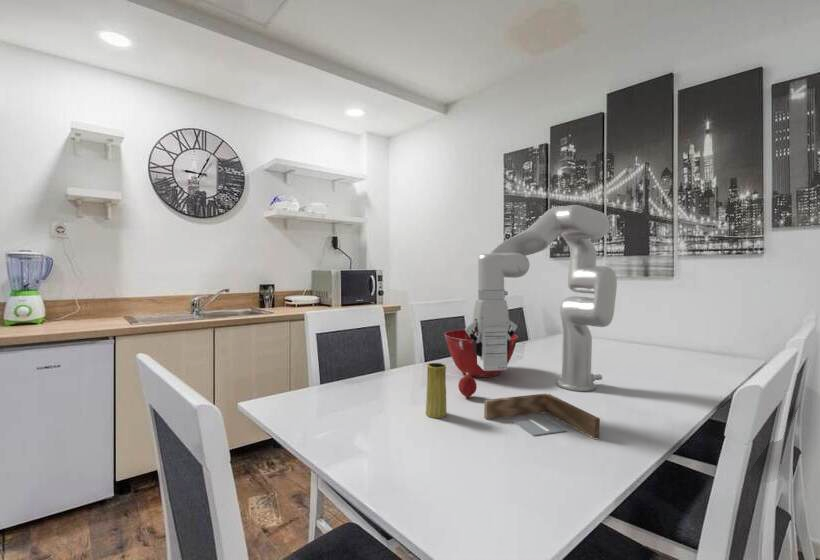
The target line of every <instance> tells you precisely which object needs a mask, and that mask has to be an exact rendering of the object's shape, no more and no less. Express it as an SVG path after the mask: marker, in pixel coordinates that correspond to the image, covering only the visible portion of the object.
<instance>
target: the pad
mask: <svg viewBox="0 0 820 560" xmlns="http://www.w3.org/2000/svg"><path fill="white" fill-rule="evenodd" d="M511 422H512V423H514V424H515V425H517V426H519V427H520V428H521V429H523V430H524V431H526V432H527V433H528V434H530V435H532V436H533V437H538V436H544V434H545V435H550V433H552V434H557V433H556V432H559V433H564V432H563V431H566V432H568V430H567V429H566V428H564V427H562V426H561V425H559V424H558V423H555V422H554V421H552V420H551V419H549V418H547V417H545V416H544V415H543V416H538V417H528V418H521V419H514V420H512V419H511Z"/></svg>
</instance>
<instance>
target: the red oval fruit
mask: <svg viewBox="0 0 820 560" xmlns="http://www.w3.org/2000/svg"><path fill="white" fill-rule="evenodd" d="M458 390H459V392H460V394H461V395H462V396H464V397H465V398H466V399H467V398H470V397H471V396H473V395H474V394H475V393H476V391H477V381H476V380H475V378H474V377H473V376H470V374H469V373H466V374H464V376H463V377H461V378H460V380H459V382H458Z"/></svg>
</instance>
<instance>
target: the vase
mask: <svg viewBox="0 0 820 560" xmlns="http://www.w3.org/2000/svg"><path fill="white" fill-rule="evenodd" d="M426 366H427V372H426V373H427V375H426V401H425V405H426V406H425V416H427V417H428V418H431V419H441V418H445V417H447V414H448V412H447V386H446V385H447V384H446V381H447V380H446V379H447V377H446V375H447V374H446V372H447V371H446V369H447V365H446V364H445V363H441V362H430V363H428V364H427V365H426Z"/></svg>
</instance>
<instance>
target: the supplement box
mask: <svg viewBox="0 0 820 560" xmlns="http://www.w3.org/2000/svg"><path fill="white" fill-rule="evenodd" d="M480 343H482V356H480V357H479V356H477V364H478V365H479V366H480V367H481V368H482V369H483V370H484V371H495V370H503V371H507V370H508V364H507V327H504V326H499V327H486V328H482V339H481V341H480Z"/></svg>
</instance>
